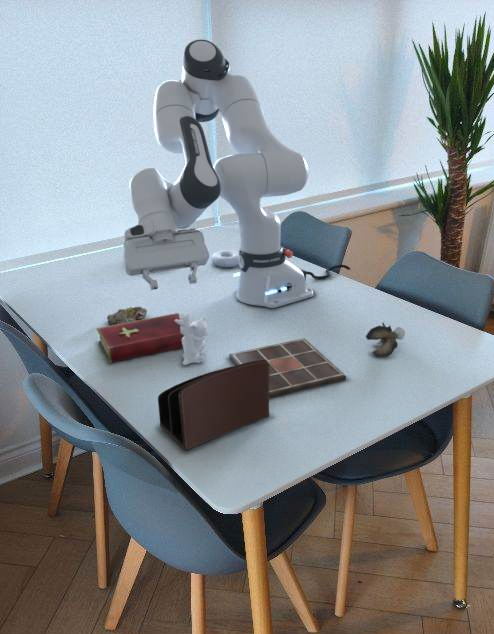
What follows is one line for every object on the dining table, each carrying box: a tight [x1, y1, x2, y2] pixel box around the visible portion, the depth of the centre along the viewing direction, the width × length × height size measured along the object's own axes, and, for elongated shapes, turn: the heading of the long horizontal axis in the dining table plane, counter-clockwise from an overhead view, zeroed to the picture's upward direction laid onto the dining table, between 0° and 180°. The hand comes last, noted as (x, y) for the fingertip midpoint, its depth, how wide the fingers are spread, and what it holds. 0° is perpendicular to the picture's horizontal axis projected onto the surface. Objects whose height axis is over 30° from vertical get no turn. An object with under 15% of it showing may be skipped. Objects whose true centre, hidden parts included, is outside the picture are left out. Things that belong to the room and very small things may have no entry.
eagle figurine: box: [365, 321, 406, 358], centre depth 145 cm, size 8×7×9 cm
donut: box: [211, 249, 239, 269], centre depth 196 cm, size 10×4×10 cm
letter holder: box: [157, 359, 270, 452], centre depth 117 cm, size 10×20×14 cm, turn 126°
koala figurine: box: [175, 312, 209, 366], centre depth 139 cm, size 8×7×12 cm
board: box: [228, 337, 347, 399], centre depth 139 cm, size 20×20×1 cm
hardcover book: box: [96, 312, 184, 364], centre depth 148 cm, size 12×21×4 cm, turn 115°
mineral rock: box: [106, 306, 148, 325], centre depth 161 cm, size 11×4×8 cm
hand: (174, 285), depth 142 cm, fingers open, 8 cm apart
